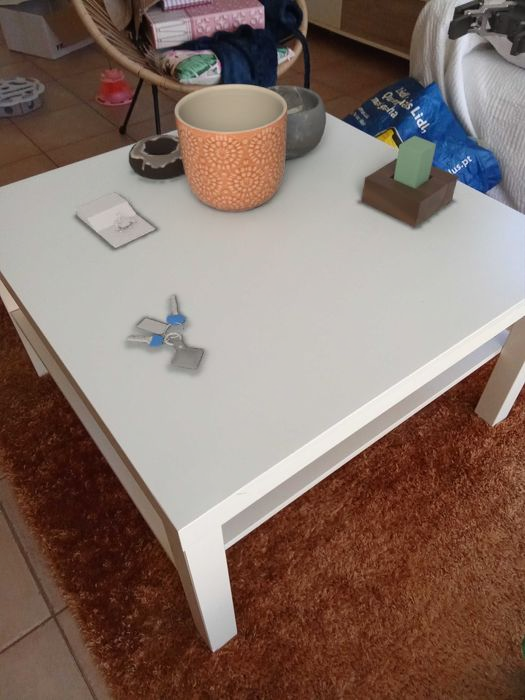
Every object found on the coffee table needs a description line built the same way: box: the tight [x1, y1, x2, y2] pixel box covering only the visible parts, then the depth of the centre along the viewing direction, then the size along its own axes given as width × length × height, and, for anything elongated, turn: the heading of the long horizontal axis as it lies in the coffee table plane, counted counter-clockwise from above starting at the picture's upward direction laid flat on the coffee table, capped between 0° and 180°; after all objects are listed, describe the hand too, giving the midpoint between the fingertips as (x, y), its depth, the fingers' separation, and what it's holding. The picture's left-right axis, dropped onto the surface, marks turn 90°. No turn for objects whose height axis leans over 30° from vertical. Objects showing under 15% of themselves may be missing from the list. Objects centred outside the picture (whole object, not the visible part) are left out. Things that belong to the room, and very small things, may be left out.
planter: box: [174, 83, 287, 213], centre depth 90 cm, size 17×17×15 cm
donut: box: [128, 134, 185, 180], centre depth 102 cm, size 12×12×4 cm
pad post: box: [394, 135, 437, 189], centre depth 90 cm, size 4×4×10 cm
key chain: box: [126, 294, 204, 370], centre depth 72 cm, size 14×8×1 cm, turn 24°
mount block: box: [361, 157, 459, 228], centre depth 92 cm, size 11×11×4 cm
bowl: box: [265, 84, 327, 160], centre depth 102 cm, size 15×15×10 cm
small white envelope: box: [75, 191, 156, 249], centre depth 90 cm, size 7×12×2 cm, turn 41°
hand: (482, 38), depth 69 cm, fingers open, 8 cm apart
